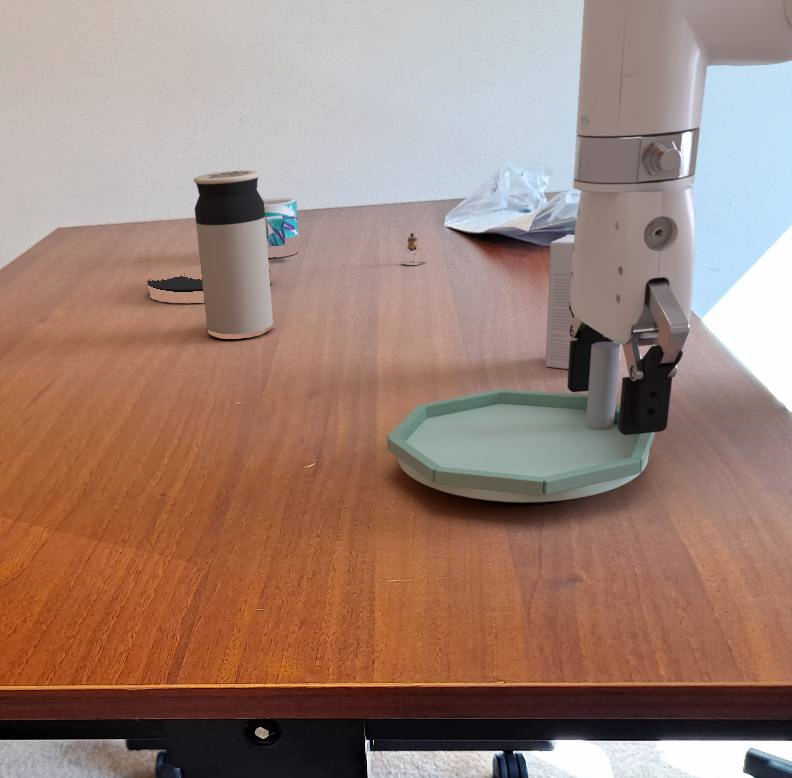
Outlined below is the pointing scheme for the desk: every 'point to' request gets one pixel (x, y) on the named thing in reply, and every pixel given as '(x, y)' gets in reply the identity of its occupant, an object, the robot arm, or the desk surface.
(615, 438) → the tray
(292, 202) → the mug
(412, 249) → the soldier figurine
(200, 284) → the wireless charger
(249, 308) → the travel mug
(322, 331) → the desk surface
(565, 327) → the cosmetic box
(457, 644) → the desk surface
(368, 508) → the desk surface
